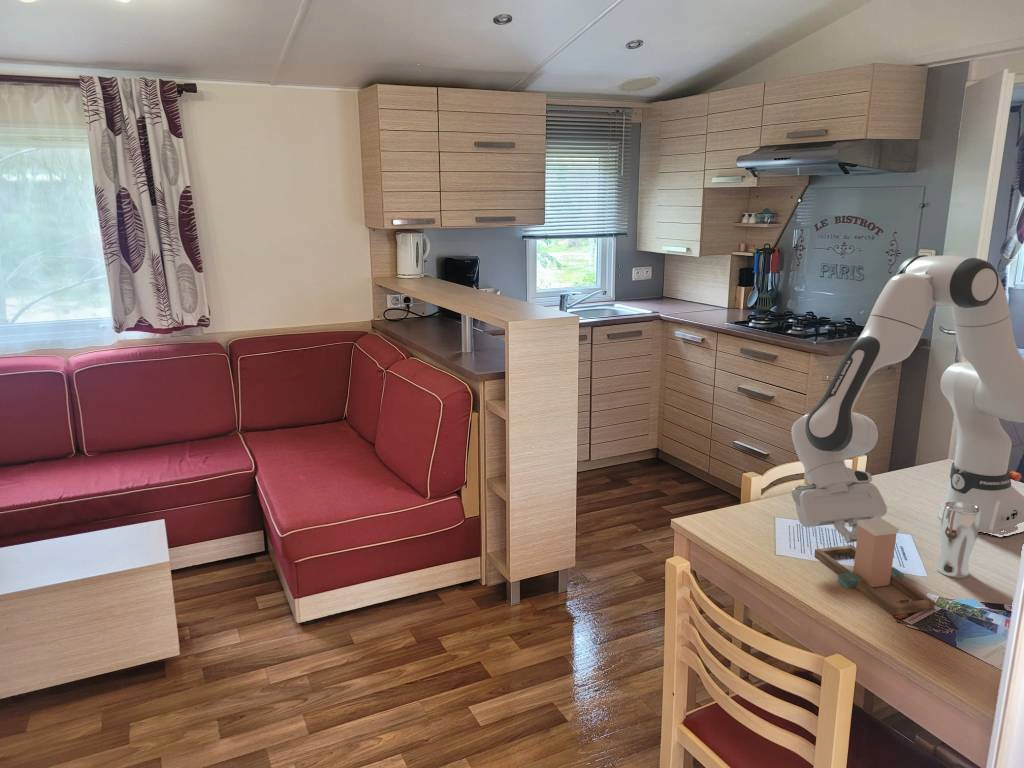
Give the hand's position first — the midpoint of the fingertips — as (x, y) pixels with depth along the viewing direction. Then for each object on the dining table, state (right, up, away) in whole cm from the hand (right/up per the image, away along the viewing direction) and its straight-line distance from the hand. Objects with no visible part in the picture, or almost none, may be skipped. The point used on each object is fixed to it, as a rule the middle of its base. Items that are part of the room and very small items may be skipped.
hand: (854, 541), depth 162 cm
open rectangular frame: (+1, -7, -4) cm, 9 cm away
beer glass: (+21, -7, -1) cm, 22 cm away
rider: (+1, -7, -5) cm, 9 cm away
